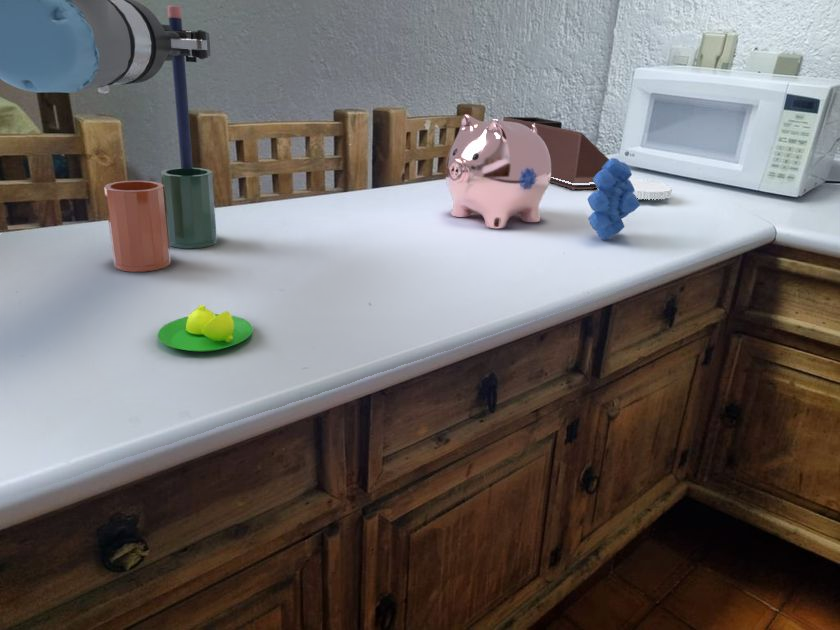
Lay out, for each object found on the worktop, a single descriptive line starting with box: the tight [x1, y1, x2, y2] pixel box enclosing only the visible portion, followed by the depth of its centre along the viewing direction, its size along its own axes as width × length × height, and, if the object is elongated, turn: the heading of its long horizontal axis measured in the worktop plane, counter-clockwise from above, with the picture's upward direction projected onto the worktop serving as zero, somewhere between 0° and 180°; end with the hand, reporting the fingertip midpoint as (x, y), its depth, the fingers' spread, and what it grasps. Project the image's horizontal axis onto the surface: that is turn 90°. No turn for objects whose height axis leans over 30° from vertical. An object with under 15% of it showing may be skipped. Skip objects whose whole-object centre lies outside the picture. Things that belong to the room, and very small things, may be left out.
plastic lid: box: [629, 177, 673, 201], centre depth 129 cm, size 14×14×2 cm
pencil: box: [167, 5, 194, 169], centre depth 78 cm, size 1×1×18 cm
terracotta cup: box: [103, 180, 172, 273], centre depth 74 cm, size 6×6×9 cm
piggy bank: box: [444, 113, 552, 230], centre depth 103 cm, size 15×18×16 cm
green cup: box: [160, 167, 217, 250], centre depth 83 cm, size 6×6×9 cm
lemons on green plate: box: [157, 304, 254, 353], centre depth 58 cm, size 8×8×3 cm
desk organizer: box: [502, 116, 610, 191], centre depth 144 cm, size 10×29×11 cm, turn 26°
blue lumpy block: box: [587, 157, 640, 240], centre depth 95 cm, size 12×7×12 cm, turn 140°
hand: (191, 43), depth 81 cm, fingers closed on pencil
